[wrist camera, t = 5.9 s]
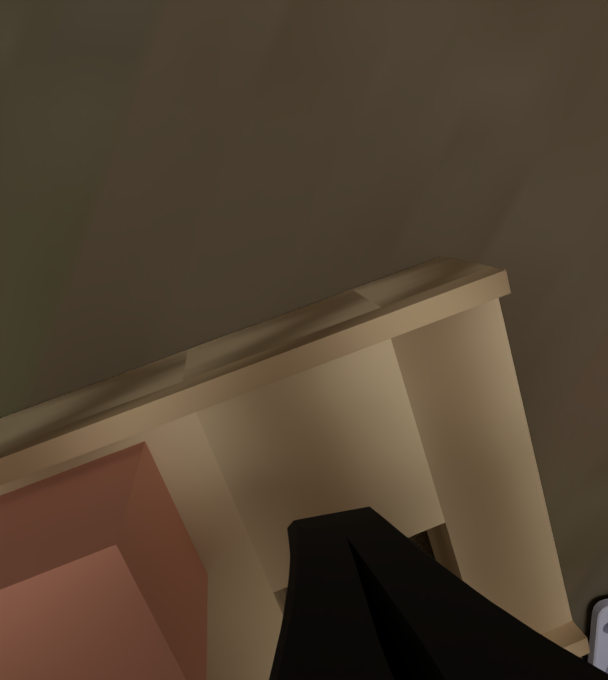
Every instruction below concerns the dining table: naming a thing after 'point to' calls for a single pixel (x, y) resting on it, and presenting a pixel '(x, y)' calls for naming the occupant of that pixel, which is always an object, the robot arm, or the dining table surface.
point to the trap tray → (330, 447)
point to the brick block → (100, 577)
